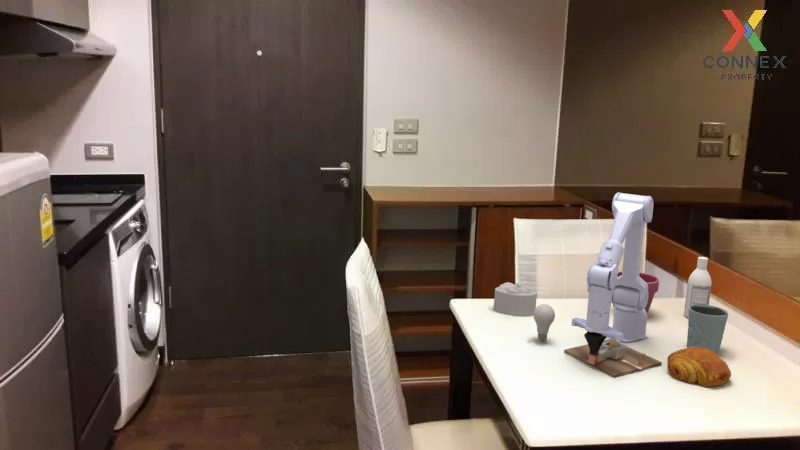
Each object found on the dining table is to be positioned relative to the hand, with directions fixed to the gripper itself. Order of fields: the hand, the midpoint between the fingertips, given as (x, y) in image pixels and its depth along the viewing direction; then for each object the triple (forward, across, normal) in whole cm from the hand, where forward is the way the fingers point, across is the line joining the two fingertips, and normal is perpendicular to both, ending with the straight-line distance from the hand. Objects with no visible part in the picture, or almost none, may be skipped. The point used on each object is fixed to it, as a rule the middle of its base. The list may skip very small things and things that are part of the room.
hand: (593, 358), depth 178 cm
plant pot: (+2, -16, +44) cm, 47 cm away
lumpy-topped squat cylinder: (+2, -40, +15) cm, 43 cm away
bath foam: (+2, -2, +59) cm, 59 cm away
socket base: (+1, +1, +7) cm, 7 cm away
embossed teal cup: (+2, +13, +34) cm, 37 cm away
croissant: (+2, +21, +16) cm, 26 cm away
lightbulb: (+2, -18, +1) cm, 18 cm away
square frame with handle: (0, +1, +3) cm, 3 cm away
